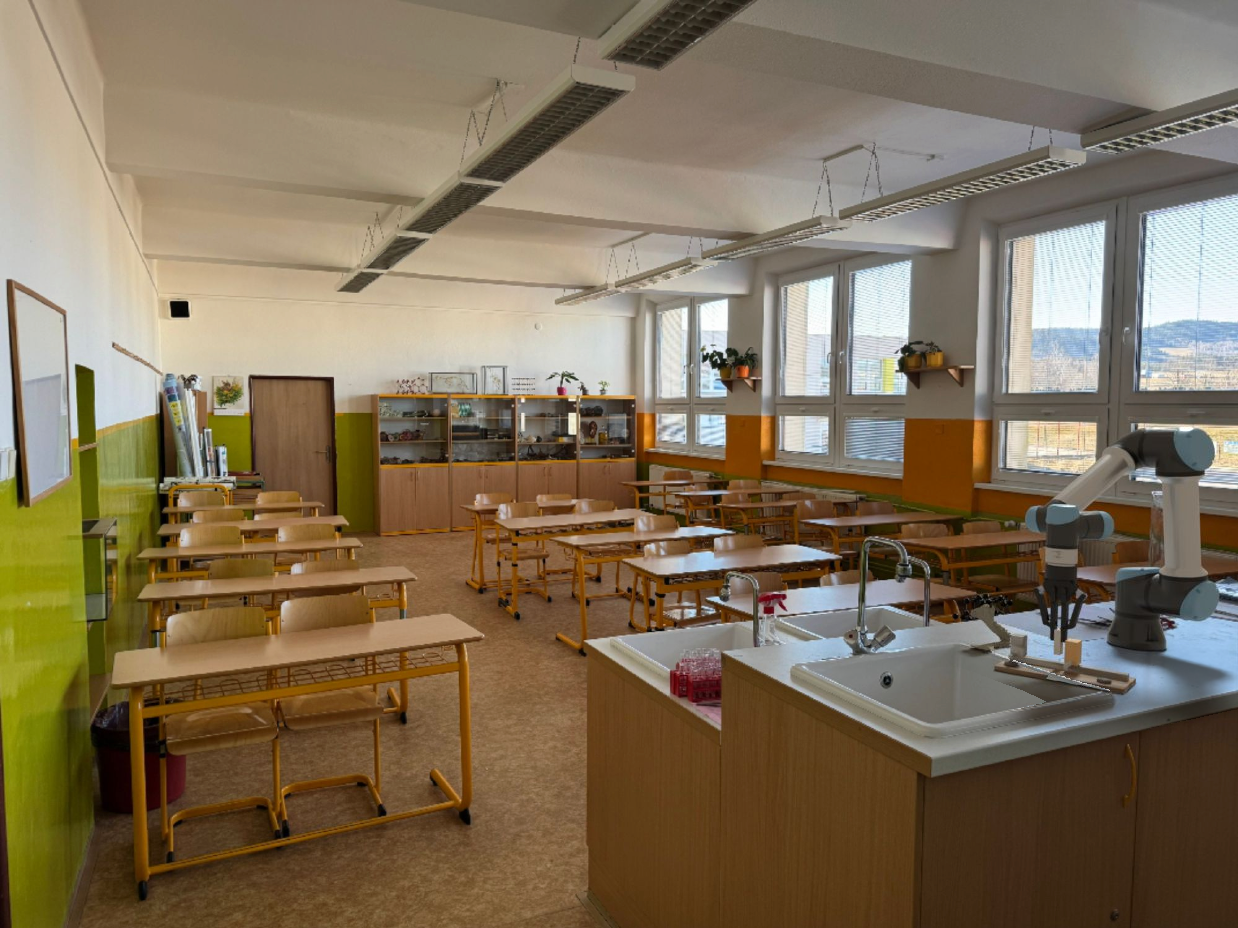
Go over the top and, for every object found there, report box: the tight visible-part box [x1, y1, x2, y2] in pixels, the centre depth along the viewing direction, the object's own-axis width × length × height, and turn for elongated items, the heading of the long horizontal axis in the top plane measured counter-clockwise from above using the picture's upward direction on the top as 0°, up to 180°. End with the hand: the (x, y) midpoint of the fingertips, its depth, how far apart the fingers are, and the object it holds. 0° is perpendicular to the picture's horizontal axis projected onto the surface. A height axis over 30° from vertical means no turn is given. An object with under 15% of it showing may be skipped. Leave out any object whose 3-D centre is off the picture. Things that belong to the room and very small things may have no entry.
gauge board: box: [994, 632, 1137, 695], centre depth 223 cm, size 13×30×8 cm, turn 48°
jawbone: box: [969, 603, 1012, 652], centre depth 253 cm, size 14×8×15 cm
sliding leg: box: [1063, 637, 1083, 671], centre depth 222 cm, size 9×3×7 cm, turn 138°
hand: (1058, 653), depth 227 cm, fingers closed
